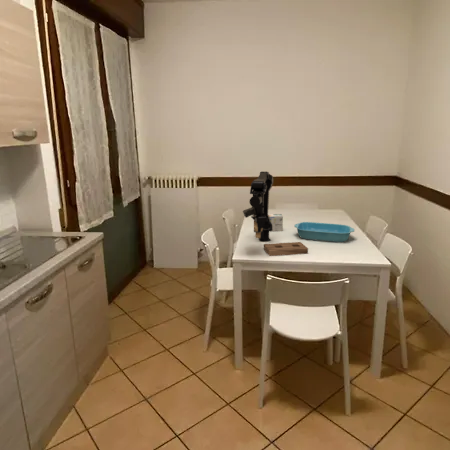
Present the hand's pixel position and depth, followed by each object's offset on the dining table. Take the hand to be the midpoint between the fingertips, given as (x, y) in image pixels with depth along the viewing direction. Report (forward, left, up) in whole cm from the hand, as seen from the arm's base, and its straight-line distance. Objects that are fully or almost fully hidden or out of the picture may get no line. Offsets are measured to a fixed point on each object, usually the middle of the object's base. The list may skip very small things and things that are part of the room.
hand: (258, 230), depth 206 cm
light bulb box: (-40, +21, -12) cm, 47 cm away
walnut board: (+4, +15, -12) cm, 20 cm away
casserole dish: (-18, +47, -13) cm, 52 cm away
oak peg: (0, 0, -4) cm, 4 cm away
